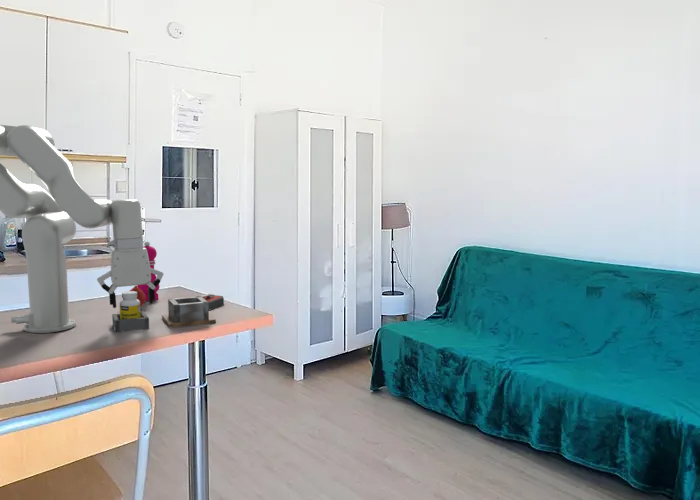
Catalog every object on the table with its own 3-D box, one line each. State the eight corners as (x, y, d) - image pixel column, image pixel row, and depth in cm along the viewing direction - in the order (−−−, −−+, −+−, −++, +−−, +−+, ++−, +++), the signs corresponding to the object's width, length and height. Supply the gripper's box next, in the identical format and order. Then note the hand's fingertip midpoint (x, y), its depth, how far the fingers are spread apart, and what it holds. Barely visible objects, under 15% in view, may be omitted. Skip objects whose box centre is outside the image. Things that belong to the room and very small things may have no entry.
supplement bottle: (118, 329, 158) (117, 294, 157) (122, 324, 163) (121, 290, 162) (139, 328, 159) (137, 294, 158) (142, 323, 164) (141, 290, 163)
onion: (122, 311, 179) (121, 286, 178) (134, 307, 184) (133, 283, 183) (138, 313, 177) (137, 287, 176) (149, 309, 182) (149, 284, 181)
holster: (115, 332, 155) (115, 321, 155) (112, 324, 163) (112, 314, 162) (149, 328, 159) (148, 317, 159) (144, 321, 167) (144, 311, 166)
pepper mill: (164, 298, 197) (162, 241, 195) (147, 302, 191) (145, 243, 189) (150, 296, 201) (148, 239, 199) (133, 299, 195) (130, 241, 193)
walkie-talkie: (205, 302, 195) (166, 315, 177) (205, 289, 195) (166, 301, 176) (227, 304, 192) (190, 318, 173) (227, 291, 191) (190, 303, 173)
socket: (169, 327, 160) (168, 306, 159) (162, 318, 171) (161, 298, 170) (215, 322, 166) (215, 302, 165) (205, 314, 177) (205, 294, 176)
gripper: (95, 248, 151) (100, 311, 153) (163, 243, 159) (167, 303, 161) (93, 245, 157) (98, 306, 160) (158, 240, 165) (162, 298, 168)
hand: (132, 304), depth 160 cm, fingers open, 9 cm apart
